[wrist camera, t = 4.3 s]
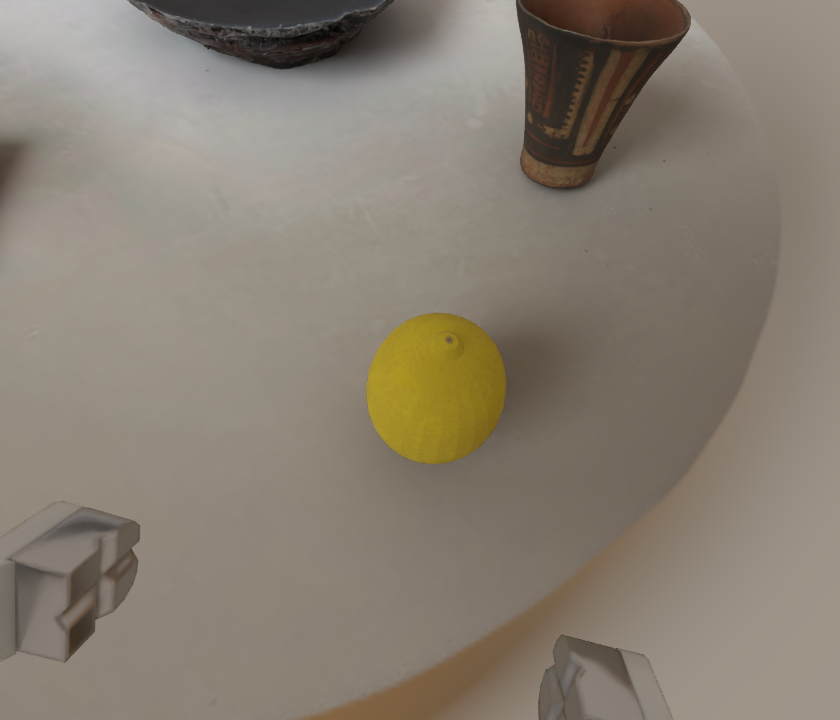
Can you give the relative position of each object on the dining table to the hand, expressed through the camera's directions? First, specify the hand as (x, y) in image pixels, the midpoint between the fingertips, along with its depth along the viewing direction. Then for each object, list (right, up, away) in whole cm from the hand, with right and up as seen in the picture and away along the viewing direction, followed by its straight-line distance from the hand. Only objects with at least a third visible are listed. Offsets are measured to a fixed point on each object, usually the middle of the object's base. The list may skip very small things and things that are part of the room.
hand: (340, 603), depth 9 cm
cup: (+10, +18, +25) cm, 32 cm away
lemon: (+2, +1, +14) cm, 15 cm away
